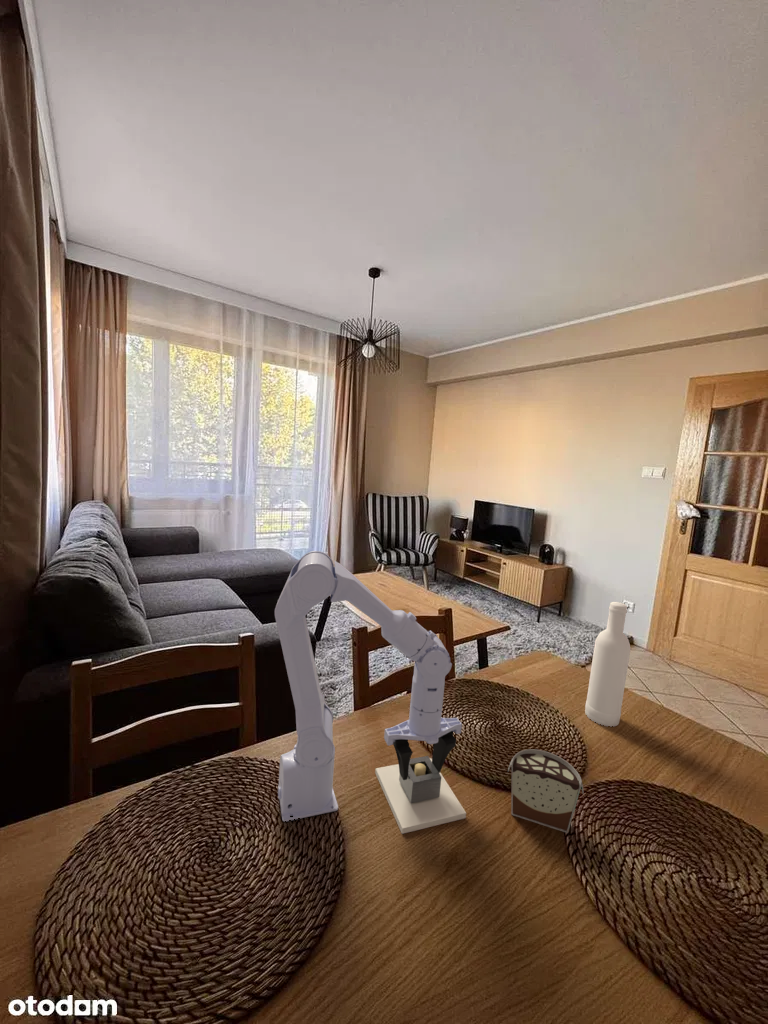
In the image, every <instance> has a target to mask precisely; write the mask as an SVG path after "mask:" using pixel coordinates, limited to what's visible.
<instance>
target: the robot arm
mask: <svg viewBox="0 0 768 1024" xmlns="http://www.w3.org/2000/svg"><path fill="white" fill-rule="evenodd" d="M328 597H330V603H335V602H336V603H337V602H346V601H347V602H349V603H350V604H351V605H352V606H354V607H356V608H357V609H358V610H359V611H361V613H363V614H364V615H366V616H367V617H368V618H370V619H371V620H372V621H373V622H374V623H376V624H378V625H379V626H380V628H381V630H380V631H381V633H380V634H381V636H382V638H383V639H384V640H385V641H387V642H388V643H389V644H390V645H391V646H393V647H394V648H396V650H398V651H399V652H400V653H401V654H403V656H405V657H406V658H408V660H411V661H413V662H414V664H413V665H414V666H413V676H412V683H411V695H410V704H409V714H408V715H409V716H408V719H407V720H405V721H403V722H401V723H398V724H396V725H394V726H392V727H388V728H384V733H383V734H384V735H383V739H384V741H385V743H386V745H387V746H392V745H393V747H394V750H395V754H396V757H397V762H398V764H399V773H400V775H401V777H402V779H403V780H407V778H408V769H409V762H410V759H412V755H413V753H414V752H413V750H412V748H411V747H410V742H409V741H420V742H422V741H423V742H426V744H429V745H432V754H431V759H432V763H433V765H434V766H435V768H436V769H437V771H438V772H439V773H441V771H442V769H443V766H444V763H445V761H446V759H447V757H448V755H449V754H450V752H451V751H452V750H453V749H454V748H455V747H456V745H457V739H456V737H455V736H454V734H456V735H459V734H461V733H462V727H463V723H462V722H461V720H459V718H458V717H442V714H443V703H444V693H445V683H446V681H445V679H446V676H447V675H448V674H449V673H450V671H451V669H452V666H453V663H452V662H451V657H450V653H449V652H448V650H447V649H446V647H445V645H444V643H443V642H442V640H441V639H440V638H439V637H438V635H437V634H436V633H435V632H433V631H432V630H427V629H426V628H424V627H423V626H422V625H421V624H420V623H418V621H417V617H416V615H415V614H413V613H412V612H411V611H409V612H408V613H407V612H406V611H405V610H402V609H394V610H392V609H391V608H390V606H388V605H387V604H386V603H385V602H384V601H382V600H381V599H380V598H379V597H378V596H377V595H376V594H375V593H374V592H372V591H371V590H370V589H369V588H368V586H366V585H365V584H364V583H363V582H362V581H361V580H360V579H359V578H358V577H356V576H355V575H354V574H353V573H352V572H351V571H349V570H348V569H347V568H346V567H345V566H343V564H341V563H339V562H338V561H337V560H334V562H333V560H332V558H331V557H330V556H329V554H327V553H326V552H323V551H321V550H311V551H309V552H307V553H305V554H304V555H302V556H301V557H300V559H298V560H297V562H296V563H295V564H294V565H293V566H292V568H291V570H290V573H289V576H288V577H287V580H286V582H285V584H284V586H283V589H282V591H281V593H280V595H279V598H278V599H277V603H276V605H275V608H274V619H275V623H276V627H277V632H278V636H279V640H280V645H281V649H282V654H283V660H284V663H285V669H286V672H287V673H286V674H287V677H288V678H287V679H288V682H289V685H290V686H289V687H290V691H291V695H292V700H293V705H294V710H295V724H296V727H295V729H296V734H297V740H296V744H294V746H293V749H291V750H290V751H287V752H286V753H283V754H281V755H280V756H279V769H278V770H279V772H278V773H279V774H278V786H277V797H278V798H277V799H278V800H279V805H280V812H281V821H282V822H285V821H286V822H290V821H289V820H291V821H295V820H299V819H298V818H300V819H303V818H308V817H313V816H319V815H322V814H327V813H333V812H337V811H338V810H339V804H338V801H337V797H336V795H335V791H334V787H333V783H334V772H335V771H334V769H335V754H336V746H335V745H334V738H333V737H334V734H333V733H334V731H333V722H334V714H333V712H332V711H333V710H332V709H331V708H330V706H328V705H327V703H326V701H325V697H324V694H323V693H322V689H321V685H320V679H319V675H318V671H317V665H316V661H315V657H314V651H313V646H312V643H311V637H310V632H309V627H308V622H307V619H306V618H307V614H308V613H309V612H310V611H311V609H312V608H314V607H315V606H316V605H319V604H320V603H322V602H323V601H325V600H326V599H327V598H328ZM290 816H293V817H290ZM294 819H295V820H294Z"/></svg>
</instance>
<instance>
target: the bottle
mask: <svg viewBox="0 0 768 1024" xmlns="http://www.w3.org/2000/svg"><path fill="white" fill-rule="evenodd" d="M627 609H628V606H627V605H626V604H625V603H623V602H620V601H611V602H610V603H609V607H608V617H607V623H606V628H605V629H604V630H601V631H599V633H598V634H597V637H596V638H595V640H594V641H595V642H594V648H593V655H592V660H591V661H592V662H591V668H590V674H589V682H588V689H587V696H586V701H585V706H584V713H585V716H586V715H587V716H586V717H587V718H588V719H589V720H590V719H591V720H590V721H592V722H593V721H594V723H595V722H596V723H595V724H597V723H598V724H597V725H600V724H601V725H600V726H603V725H604V727H608V726H610V727H609V728H611V727H612V726H613V727H616V726H618V725H619V723H620V720H621V714H622V707H623V701H624V695H625V694H624V692H625V687H626V680H627V675H628V669H629V668H628V667H629V661H630V656H631V649H632V648H631V645H630V639H628V637H627V636H626V634H625V633H624V628H625V624H626V623H625V622H626V617H627V616H626V615H627V612H628V610H627Z"/></svg>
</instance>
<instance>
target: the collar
mask: <svg viewBox="0 0 768 1024" xmlns="http://www.w3.org/2000/svg"><path fill="white" fill-rule="evenodd" d="M418 763H421V764H424V765H425V766H426V772H425V775H422V776H417V777H416V775H415V773H414V771H415V765H416V764H418ZM399 781H400V783H401V785H402V787H403V789H404V791H405V793H406V795H407V797H408V799H409V801H410V803H415V802H420V801H424V800H429V799H433V798H438V797H439V795H440V786H441V775H440V774H439V772H438V771H437V769H436V768H435V766H434V765H433V763H432V761H431V760H430V757H429V755H425V756H421V757H420V756H419V757H413V758H410V762H409V769H408V778H407V780H403V779H402V777H401V775H399Z"/></svg>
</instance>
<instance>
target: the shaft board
mask: <svg viewBox="0 0 768 1024" xmlns="http://www.w3.org/2000/svg"><path fill="white" fill-rule="evenodd" d="M429 758H430V757H429ZM430 760H431V761H432V757H431V758H430ZM425 772H426V766H425V765H424V764H421V763H418V764H416V765H415V771H414V773H415V775H416V777H417V776H422V775H425ZM374 773H375V776H376V778H377V781H378V782H379V784H380V788H381V790H382V791H383V794H384V796H385V798H386V801H387V803H388V805H389V808H390V810H391V812H392V814H393V817H394V819H395V821H396V822H395V823H396V824H397V826H398V828H399V831H400V833H401V834H402V835H403V834H407V833H410V832H411V833H412V832H415V831H419V830H423V829H427V828H430V827H435V826H440V825H443V824H447V823H452V822H455V821H460V820H464V819H466V818H467V812H466V811H465V809H464V807H463V805H462V804H461V802H460V801H459V799H458V798H457V796H456V795H455V793H454V792H453V790H452V789H451V786H450V785H449V783H448V782H447V780H446V779H445V778H444V776H443V774H442V773H441V772H440V773H439V774H440V775H441V786H440V795H439V797H438V798H433V799H429V800H424V801H420V802H415V803H410V801H409V799H408V797H407V795H406V793H405V791H404V789H403V787H402V785H401V783H400V781H399V775H400V773H399V763H398V764H396V763H395V764H391V765H387V766H381V767H377V768H376V767H375V771H374Z"/></svg>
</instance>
